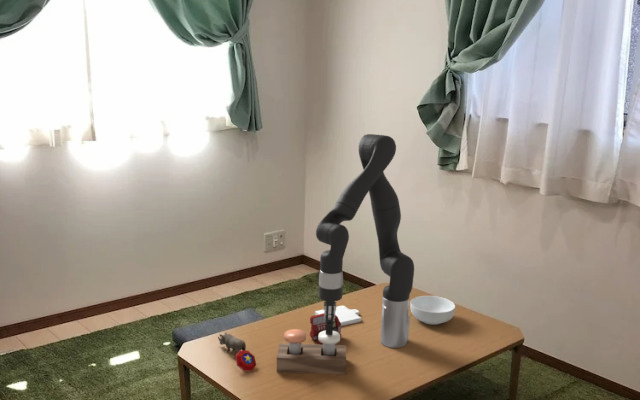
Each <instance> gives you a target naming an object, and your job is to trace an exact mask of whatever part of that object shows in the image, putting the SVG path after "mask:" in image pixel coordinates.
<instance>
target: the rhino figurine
mask: <svg viewBox="0 0 640 400" xmlns="http://www.w3.org/2000/svg"><path fill="white" fill-rule="evenodd" d="M217 338H218V341H219V344H220V346H221V345H225V347H226V349H225V353H230V352H231V351H233V352H235V351H236V352H235V353H236V354H235V355H234V357H235V356H236V355H237V353H238V352H239V351H247V350H246V349H247V346H246V342H245V341H244V339H240V338H238V337H236V336H234V335H232V334H231V333H227V332H224V334H220V333H219V335H218V336H217Z"/></svg>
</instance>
